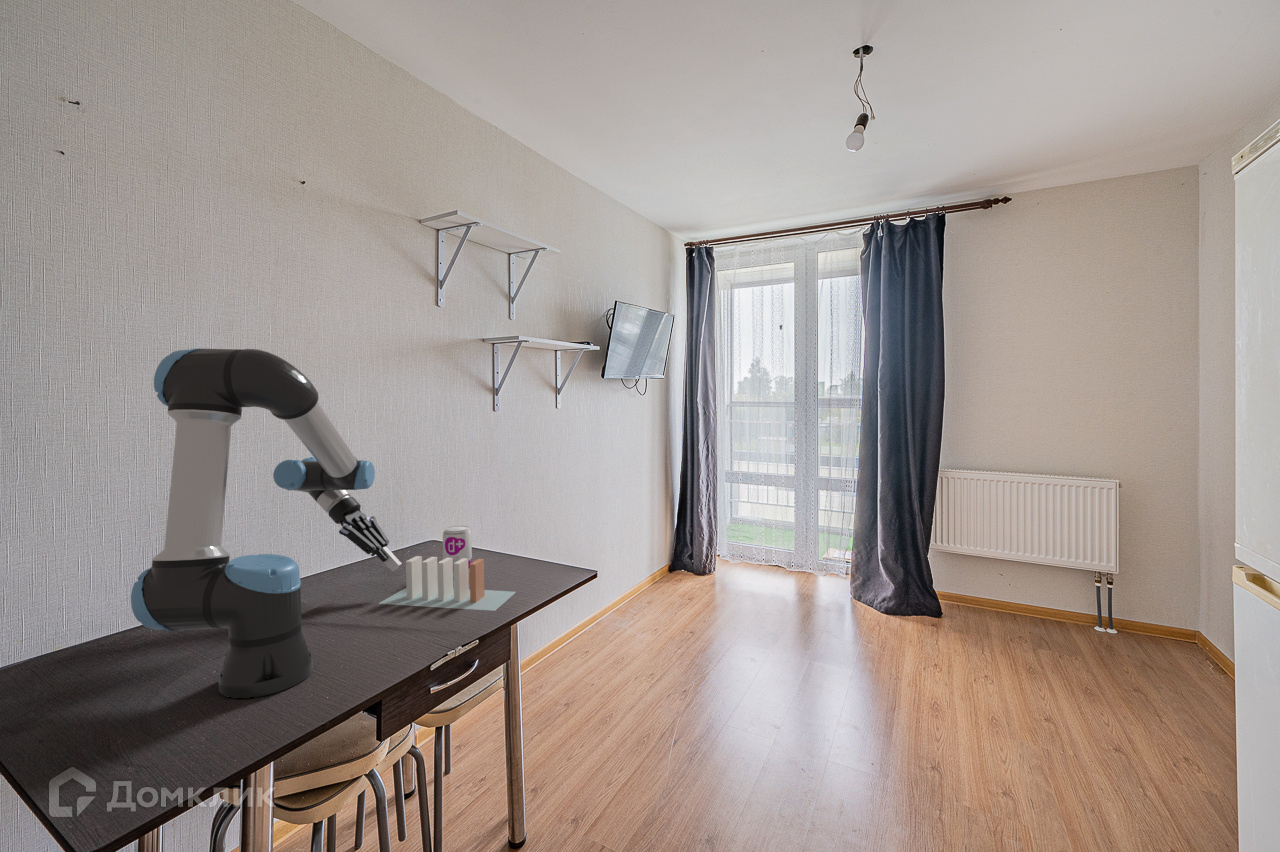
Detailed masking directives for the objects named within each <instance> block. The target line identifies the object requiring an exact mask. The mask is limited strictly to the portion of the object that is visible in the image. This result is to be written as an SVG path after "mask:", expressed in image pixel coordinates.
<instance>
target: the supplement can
mask: <svg viewBox="0 0 1280 852" xmlns="http://www.w3.org/2000/svg"><path fill="white" fill-rule="evenodd" d="M472 541H473V540H472V531H471V529H470V527H469V526H467V525H454V526H453V525H452V526H448V527H446V528H445V529H444V531H443V533H442V560H443V559H445V558H453V564H454V563H455V562H457V561H459V560H460V559H462V558H468V575H469V576H470V564H471V563H473V557H472V555H473V554H472V552H473V549H472V548H473V546H472ZM453 579H454V566H453Z"/></svg>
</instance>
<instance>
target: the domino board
mask: <svg viewBox="0 0 1280 852" xmlns="http://www.w3.org/2000/svg"><path fill="white" fill-rule="evenodd" d="M484 592H485V596H484V597H483V598H481V599H480V600H479V601H478V602H476V603H473V602H470V588H469V595H468V596H467V597H466V598H464V599H463V600H462V601H460V602H456V601H454V587H453V595H452V596H450V597H449V598H447V599H446V600H444V601H439V600H438V594H436V595H435V596H433V597H432V598H430V599H429V600H422V593H421V594H419V595H418V596H416V597H415V598H413V599H407V587H404V588H403V589H402V590H400V591H398V592H396V593H394V594H393V595H391V596H389V597H387V598H386V599H384V600H382V601H380V602H378V605H391V606H392V605H393V606H409V607H410V606H411V607H427V608H440V609H441V608H443V609H457V610H458V609H459V610H472V611H473V610H475V611H478V610H479V611H489V612H490V611H492V612H496V611H497V609H499V608H500V607H501V606H502V605H504V604H505V603H506V602H507V601H508V600H509V599H510V598H512V597H513V596H514V595H515V594H516V593H517V591H513V590H512V591H509V590H508V591H507V590H492V589H484Z"/></svg>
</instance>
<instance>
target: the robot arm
mask: <svg viewBox="0 0 1280 852" xmlns="http://www.w3.org/2000/svg"><path fill="white" fill-rule="evenodd" d="M153 377H154V378H153V389H154V392H155V393H157V394H156V398H157V399H158V400H159V402H161V404H163V405H164V406H167V415H168V416H170V417H171V419H172V420H174V422H175V423H176V426H175V427H176V429H175V435H174V436H175V437H174V446H173V448H174V449H173V456H172V457H173V459H172V467H171V478H170V488H169V497H168V506H167V507H168V509H167V519H166V527H165V539H164V547H163V549H162V551H160V552H159V553H158V554H156V555H155V556H154V557H153V558H152V562H151V567H149V568H147V569H145V570H144V571H142V572H140V574H139V575H138V577H137V581H135V582H134V583H133V585H132V589H131V593H130V605H131V611H132V614H133V616H134V617H135V620H137V622H139V623H141V625H142V626H144V627H145V628H146V629H150V630H154V631H155V630H156V631H168V632H178V631H185V630H189V631H190V630H212V629H213V630H216V629H217V630H218V629H227V633H228V650H227V653H226V656H225V658H224V662H223V665H222V670H221V672H220V673H219V677H218V692H220V693H221V694H222V695H221V694H220V693H219V694H220V695H221V696H223V695H224V696H223V697H225V696H228V697H232V698H231V699H237V698H243V699H250V697H254V698H259V697H264V696H267V695H268V696H269V695H271V694H276V693H280V692H282V691H284V690H285V691H286V690H287V689H289V688H292V687H294V686H296V685H298V684H300V683H302V682H303V681H304V680H306V679H308V678H309V676H310V675H311V674H312V673H313V671H314V661H313V659H314V658H313V655H312V653H311V652H310V651H309V649H308V645H307V642H306V640H305V637H304V635H303V631H302V602H301V600H302V597H301V594H302V593H301V586H302V580H301V575H300V567H299V564H298V563H297V561H295V560H294V559H293V558H291V557H289V556H286V555H282V554H275V553H274V554H272V553H260V554H259V553H258V554H247V555H242V556H237V557H234V558H233V559H231V560H230V558H231V557H230V556H231V555H230V553H229V552H228V551H227V550H225V549H224V548H223V546H222V541H223V528H224V518H225V517H224V515H225V505H226V492H227V483H228V481H227V480H228V469H229V457H230V448H231V447H230V444H231V434H232V426H233V425H235V424H236V423H237V422H238V421H240V420H241V419H242V412H243V408H252V407H253V408H262V409H266V410H267V411H269V412H270V413H271V414H272V415H273V416H274V417H275V418H277V419H280V420H282V421H284V422H285V423H286V424H287V426H288V427H289V428H290V429H291V431H292V432H293V433H294V434H295V436H296V437H297V438H298V439H299V440H300V442H301V443H302V444H303V445H304V446H305V449H307V450H308V452H309V453H310V454H311V455H312V456H310V457H306V458H304V459H302V460H299V459H285V460H283V461H281V462H279V463H278V464H277V465H276V466H275V468H274V471H273V475H272V477H273V481H274V483H275V485H277V486H278V487H279V488H281V489H284V490H287V491H296V492H303V493H308V495H310V496H311V498H313V500H314V501H315V502H316V503H317V504H318V505H319V506H320V507H321V509H323V511H324V512H325V513H326V514H328V516H329V517H330V519H331V520H332V521H333V522H334V523H335V524H336V525H341V528H340V529H339V531H338V533H339V535H342V536H343V537H345V538H347V539H348V540H349V541H351V542H352V543H353V544H355V546H357V547H358V548H359V549H360V550H361V551H363V552H364V553H365V554H366V555H370V556H371V557H375V555H376V556H377V558H379V560H380V561H381V562H383V563H384V564H385V566H386V567H387V568H388V569H389V570H390V571H391V572H392V573H393V572H395V571H397V569H398V568H399V567H400V566H401V565H402V562H401V561H400V559H398V557H397V556H395V554H394V553H393V552H392V550H390V548H389V547H388V545H389V544H390V540H389V538H388V537H387V535H386V534H385V532H384V531H383V529H382V528H381V526H380V525H379V523H378V522H377V518H376V516H374V515H371V517H369V516H367V515H366V513H363V511H361V504H360V503H359V501H357V500H356V499H355V498H354V496H352V495H351V493H350V492H349V491H357V490H367V489H369V488H371V487H372V486H373V484H374V481H375V475H376V472H375V471H376V470H375V466H374V464H373V462H372V461H370V460H363V459H361V460H358V459H357V457H356V456H355V455H354V453H353V452H352V450H351V448H350V447H349V446H348V444H347V443H346V441H345V440H344V438H343V437H342V435H341V434H340V432H339V431H338V429H337V427H336V426H335V425H334V423H333V421H331V419H330V417H329V416H328V414H327V413H326V411H325V409H324V408H323V407H322V405H321V404H320V402H319V401H320V400H319V399H320V395H319V392H318V390H317V389H316V387H315V385H314V384H313V383H312V382H311V380H310V379H309V378H308V377H307V376H306V375H305V374H304V373H303V372H302V371H300V370H299V369H298V368H297V367H295V366H294V365H293V364H291V363H290V362H288V361H286V360H285V359H283V358H282V357H280V356H278V355H277V354H273V353H271V352H269V351H265V350H262V349H255V348H244V349H241V348H238V349H236V348H235V349H233V348H230V349H229V348H201V347H198V348H190V349H179V350H175V351H172V352H171V353H170V354H169V355H166V356H165V357H164V358H163V359H162V360H161V361H160V362H159V364H158V365H157V367H156V370H155V372H154V376H153ZM228 697H227V698H228Z"/></svg>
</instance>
